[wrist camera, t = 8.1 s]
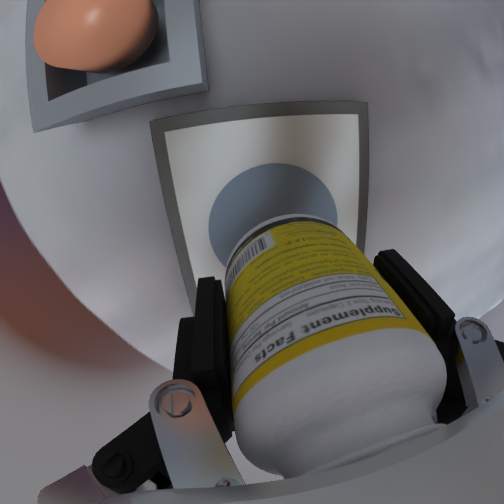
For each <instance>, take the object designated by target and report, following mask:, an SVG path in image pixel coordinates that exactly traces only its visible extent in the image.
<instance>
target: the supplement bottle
mask: <svg viewBox="0 0 504 504" xmlns="http://www.w3.org/2000/svg"><path fill="white" fill-rule="evenodd" d="M225 301H226V320H227V335H228V349H229V361H230V376H231V391H232V407H233V417H234V425H235V434H236V439H237V443H238V446H239V448H240V450H241V452H242V453H243V455H244V456H245V457H246V458H247V459H248V460H249V461H250V462H251V463H252V464H254V465H255V466H256V467H258V468H260V469H262V470H264V471H266V472H269V473H272V474H275V475H281V476H283V477H284V479H289V478H295V477H300V476H305V475H309V474H314V473H318V472H323V471H327V470H331V469H334V468H338V467H342V466H345V465H349V464H352V463H355V462H358V461H362V460H365V459H368V458H371V457H374V456H377V455H379V454H382V453H385V452H388V451H390V450H393V449H395V448H398V447H400V446H403V445H405V444H408V443H410V442H412V441H415V440H417V439H419V438H421V437H423V436H426V435H428V434H430V433H432V432H434V431H436V430H438V429H440V428H442V427H444V426H446V425H447V424H435V423H434V422H433V419H432V415H433V413H434V412H435V410H436V409H437V407H438V405H439V403H440V401H441V400H442V397H443V394H444V391H445V388H446V381H447V372H446V365H445V362H444V359H443V357H442V355H441V353H440V352H439V350H438V348H437V347H436V345H435V343H434V342H433V340H432V339H431V337H430V336H429V335H428V333H427V332H426V331H425V329H424V328H423V327H422V325H421V324H420V323H419V322H418V320H417V319H416V318H415V316H414V315H413V314H412V313H411V311H410V310H409V309H408V307H407V306H406V305H405V304H404V302H403V301H402V300H401V299H400V297H399V296H398V295H397V294H396V292H395V291H394V290H393V289H392V287H391V286H390V285H389V284H388V283H387V281H386V280H385V279H384V278H383V277H382V275H381V274H380V273H379V272H378V271H377V269H376V268H375V267H374V266H373V265H372V264H371V262H370V261H369V260H368V259H367V258H366V257H365V255H364V254H363V253H362V252H361V251H360V250H359V249H358V248H357V246H356V245H355V244H354V243H353V242H352V241H351V240H350V239H349V237H347V236H346V235H345V234H344V233H343V232H342V231H341V230H340V229H339V228H338V227H337V226H335V225H334V224H333V223H331V222H329V221H327V220H325V219H323V218H320V217H317V216H313V215H307V214H288V215H282V216H278V217H274V218H271V219H269V220H266V221H264V222H262V223H261V224H259V225H257V226H256V227H254V228H253V229H251V230H250V231H249V232H248V233H246V234H245V235H244V236H243V237H242V239H241V240H240V241H239V242H238V243H237V245H236V246H235V248H234V249H233V251H232V253H231V255H230V257H229V259H228V262H227V266H226V270H225Z"/></svg>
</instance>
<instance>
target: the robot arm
mask: <svg viewBox="0 0 504 504" xmlns="http://www.w3.org/2000/svg"><path fill="white" fill-rule="evenodd" d="M373 266H374V267H375V268H376V269H377V271H378V272H379V273H380V274H381V275H382V277H383V278H384V279H385V280H386V281H387V283H388V284H389V285H390V286H391V287H392V289H393V290H394V291H395V292H396V294H397V295H398V296H399V297H400V299H401V300H402V301H403V302H404V304H405V305H406V306H407V307H408V309H409V310H410V311H411V313H412V314H413V315H414V316H415V318H416V319H417V320H418V322H419V323H420V324H421V325H422V327H423V328H424V329H425V331H426V332H427V333H428V335H429V336H430V337H431V339H432V340H433V342H434V343H435V345H436V347H437V348H438V350H439V352H440V353H441V355H442V357H443V359H444V362H445V365H446V372H447V381H446V388H445V391H444V394H443V397H442V400H441V401H440V403H439V405H438V407H437V409H436V410H435V412H434V413H433V415H432V419H433V422H434V423H435V424H447V425H446V426H444V427H442V428H440V429H438V430H436V431H434V432H432V433H430V434H428V435H426V436H423V437H421V438H419V439H417V440H415V441H412V442H410V443H408V444H405V445H403V446H400V447H398V448H395V449H393V450H390V451H388V452H385V453H382V454H379V455H377V456H374V457H371V458H368V459H365V460H362V461H358V462H355V463H352V464H349V465H345V466H342V467H338V468H334V469H331V470H327V471H323V472H318V473H314V474H309V475H305V476H300V477H295V478H289V479H284V480H278V481H270V482H263V483H256V484H248V485H246V484H245V482H244V480H243V478H242V476H241V475H240V473H239V471H238V469H237V467H236V465H235V463H234V461H233V459H232V457H231V455H230V453H229V451H228V449H227V447H226V445H225V443H226V442H227V441H228V440H229V439H230V438H231V437H232V431H235V425H234V417H233V407H232V391H231V376H230V361H229V349H228V335H227V320H226V301H225V296H224V291H223V286H222V281H221V279H220V280H215V277H214V276H210V277H203V278H198V284H197V294H196V305H195V317H187V318H181V319H180V322H179V329H178V337H177V345H176V353H175V362H174V371H173V380H169V381H166V382H164V383H162V384H161V385H160V386H158V387H157V388H155V390H154V391H153V392H152V394H151V396H150V399H149V410H150V412H148V413H147V414H146V415H145V416H143V417H142V418H141V419H139V420H138V421H137V422H136V423H134V424H133V425H132V426H130V427H129V428H128V429H127V430H125V431H124V432H122V433H121V434H120V435H118V436H117V437H116V438H114V439H113V440H112V441H110V442H109V443H108V444H106V445H105V446H104V447H102V448H101V449H100V450H99V451H98V452H97V453H96V454H95V456H94V458H93V462H92V464H91V465H90V466H88V467H87V466H85V465H83V466H81V467H80V468H78V469H76V470H75V471H73V472H71V473H69V474H68V475H66V476H64V477H63V478H61V479H59V480H57V481H55V482H54V483H52V484H50V485H48V486H46V487H44V488H43V489H42V490H41V491H40V493H39V495H38V502H37V503H38V504H504V343H503V342H500V341H497V340H494V338H493V336H492V334H491V332H490V330H489V328H488V327H487V325H486V324H485V323H484V322H482V321H481V320H479V319H477V318H474V317H463V318H461V319H459V320H458V321H456V320H455V319H454V317H455V313H454V312H453V311H452V310H451V309H450V308H449V306H448V305H447V304H446V303H445V302H444V301H443V300H442V299H441V297H440V296H439V295H438V294H437V293H436V292H435V291H434V290H433V289H432V288H431V286H430V285H429V284H428V283H427V282H426V281H425V280H424V279H423V278H422V277H421V276H420V275H419V274H418V273H417V272H416V271H415V270H414V269H413V267H412V266H411V265H410V264H409V263H408V262H407V261H406V260H405V259H404V258H403V257H402V256H401V255H400V254H399V253H398V252H397V251H396V250H394V249H390V250H384V251H380V252H379V253H378V255H377V256H375V258H374V264H373Z"/></svg>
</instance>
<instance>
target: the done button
mask: <svg viewBox="0 0 504 504" xmlns="http://www.w3.org/2000/svg"><path fill="white" fill-rule="evenodd" d="M158 24H159V16H158V11H157V8H156V6H155V4H154V3H153V1H152V0H46V2H45V3H44V5H43V6H42V8H41V10H40V12H39V14H38V17H37V19H36V23H35V27H34V36H33V37H34V45H35V49H36V51H37V53H38V55H39V57H40V58H41V59H42V60H43V61H44V62H46V63H47V64H49V65H51V66H55V67H60V68H67V69H73V70H80V71H85V72H91V73H97V74H105V73H111V72H115V71H118V70H121V69H123V68H125V67H127V66H129V65H130V64H132V63H133V62H135V61H136V60H137V59H138V58H139V57H140V56H142V55H143V54H144V52H145V51H146V50H147V49H148V47H149V46H150V45H151V43H152V41H153V40H154V37H155V35H156V33H157V29H158Z"/></svg>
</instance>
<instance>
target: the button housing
mask: <svg viewBox="0 0 504 504" xmlns="http://www.w3.org/2000/svg"><path fill="white" fill-rule="evenodd" d="M152 1H153V3H154V4H155V6H156V8H157V11H158V16H159V24H158V29H157V33H156V35H155V37H154V40H153V41H152V43H151V45H150V46H149V47H148V49H147V50H146V51H145V52H144V54H143V55H142V56H140V57H139V58H138V59H137V60H136V61H135V62H133V63H132V64H130V65H129V66H127V67H125V68H123V69H121V70H118V71H115V72H111V73H105V74H97V73H91V72H85V71H80V70H73V69H67V68H60V67H55V66H51V65H49V64H47V63H46V62H44V61H43V60H42V59H41V58H40V57H39V55H38V53H37V51H36V49H35V45H34V37H33V36H34V27H35V23H36V19H37V17H38V14H39V12H40V10H41V8H42V6H43V5H44V3H45V2H46V0H27V12H26V38H25V48H26V74H27V87H28V97H29V106H30V113H31V120H32V126H33V132H34V133H36V132H40V131H43V130H47V129H52V128H56V127H60V126H65V125H69V124H74V123H79V122H84V121H87V120H90V119H93V118H96V117H99V116H103V115H106V114H109V113H112V112H116V111H119V110H123V109H127V108H130V107H134V106H138V105H142V104H146V103H150V102H154V101H159V100H164V99H168V98H173V97H178V96H184V95H189V94H195V93H201V92H207V91H209V88H208V79H207V71H206V63H205V54H204V46H203V37H202V28H201V18H200V9H199V0H152Z"/></svg>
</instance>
